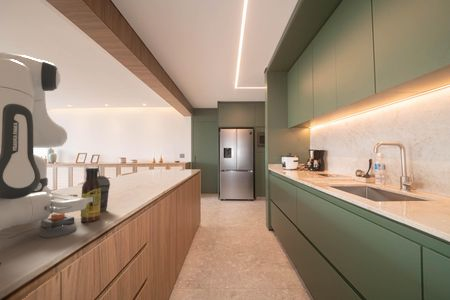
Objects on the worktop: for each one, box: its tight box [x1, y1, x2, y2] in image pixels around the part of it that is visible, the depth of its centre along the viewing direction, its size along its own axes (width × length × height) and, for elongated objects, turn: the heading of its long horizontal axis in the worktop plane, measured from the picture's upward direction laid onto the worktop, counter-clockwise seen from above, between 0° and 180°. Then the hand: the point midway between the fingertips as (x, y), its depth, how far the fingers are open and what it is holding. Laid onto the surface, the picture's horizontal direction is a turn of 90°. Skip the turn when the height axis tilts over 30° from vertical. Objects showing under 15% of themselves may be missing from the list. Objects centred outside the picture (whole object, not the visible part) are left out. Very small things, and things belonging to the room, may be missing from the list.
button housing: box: [40, 214, 75, 229], centre depth 74 cm, size 7×7×2 cm
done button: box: [50, 213, 66, 221], centre depth 74 cm, size 4×4×2 cm
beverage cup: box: [97, 165, 111, 214], centre depth 90 cm, size 7×7×20 cm
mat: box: [39, 224, 77, 239], centre depth 67 cm, size 9×9×1 cm
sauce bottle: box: [80, 167, 101, 223], centre depth 79 cm, size 7×6×20 cm
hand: (84, 197), depth 77 cm, fingers open, 8 cm apart
